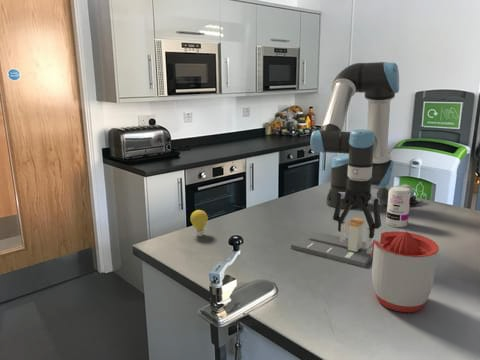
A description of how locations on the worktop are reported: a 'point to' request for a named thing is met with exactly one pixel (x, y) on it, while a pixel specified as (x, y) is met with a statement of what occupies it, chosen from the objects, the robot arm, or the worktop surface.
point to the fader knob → (355, 234)
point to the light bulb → (199, 221)
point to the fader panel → (332, 248)
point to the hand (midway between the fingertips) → (355, 243)
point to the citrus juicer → (403, 270)
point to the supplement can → (398, 206)
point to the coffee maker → (384, 192)
